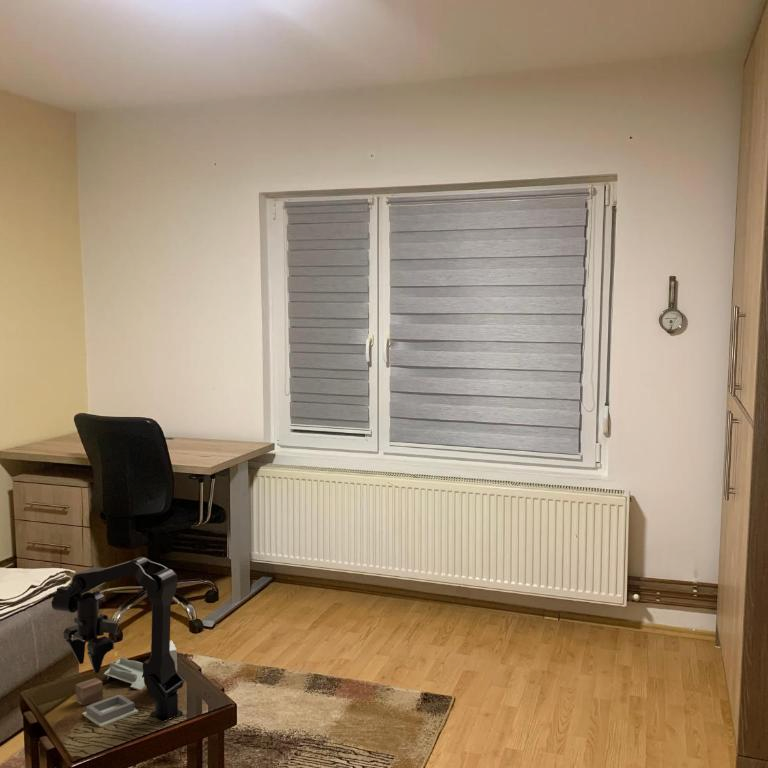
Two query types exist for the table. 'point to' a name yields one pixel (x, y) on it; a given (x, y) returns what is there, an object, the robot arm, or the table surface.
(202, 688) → the table surface
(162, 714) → the robot arm
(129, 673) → the metal bracket
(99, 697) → the walnut block
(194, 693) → the table surface
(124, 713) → the socket board
